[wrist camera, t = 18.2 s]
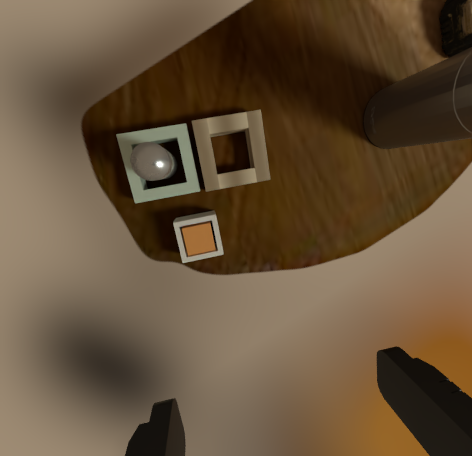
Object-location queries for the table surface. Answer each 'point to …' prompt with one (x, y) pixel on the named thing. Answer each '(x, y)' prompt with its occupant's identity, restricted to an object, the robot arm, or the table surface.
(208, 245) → the orange cube
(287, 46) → the table surface
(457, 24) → the cordless drill
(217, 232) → the housing
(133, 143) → the frame
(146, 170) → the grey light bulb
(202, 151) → the socket block
